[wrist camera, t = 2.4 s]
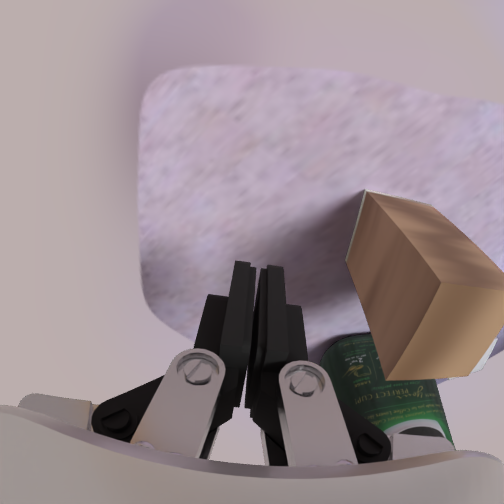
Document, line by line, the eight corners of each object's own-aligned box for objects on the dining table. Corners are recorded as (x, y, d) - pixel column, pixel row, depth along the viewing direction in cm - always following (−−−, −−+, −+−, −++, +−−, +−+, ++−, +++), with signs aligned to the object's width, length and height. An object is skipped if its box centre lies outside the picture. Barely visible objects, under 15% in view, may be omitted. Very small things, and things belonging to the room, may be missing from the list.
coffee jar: (311, 387, 26) (317, 575, 10) (323, 329, 23) (347, 578, 6) (402, 381, 26) (440, 546, 10) (430, 324, 22) (503, 522, 6)
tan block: (430, 205, 17) (521, 293, 8) (407, 269, 20) (467, 376, 11) (364, 189, 17) (441, 282, 8) (344, 260, 20) (385, 380, 11)
